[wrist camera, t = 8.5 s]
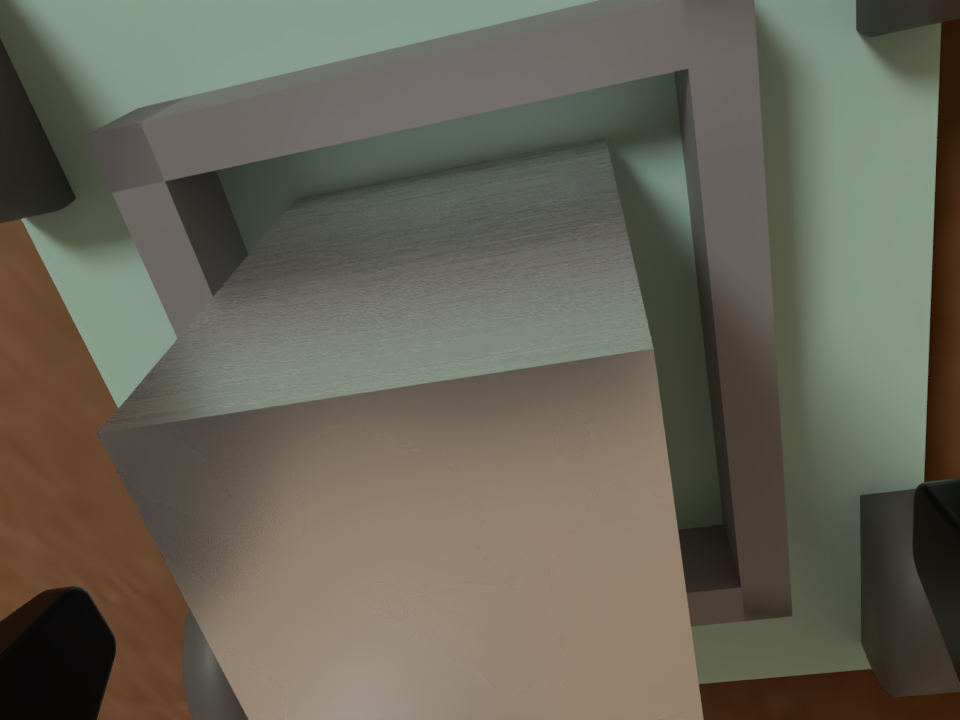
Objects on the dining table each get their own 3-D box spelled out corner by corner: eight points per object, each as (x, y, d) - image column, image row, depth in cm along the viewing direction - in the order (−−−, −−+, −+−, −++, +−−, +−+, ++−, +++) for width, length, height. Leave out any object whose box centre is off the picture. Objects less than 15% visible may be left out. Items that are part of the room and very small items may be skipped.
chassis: (888, 605, 17) (965, 767, 14) (297, 664, 19) (247, 815, 16) (902, -398, 9) (1077, -543, 6) (-69, -108, 12) (-296, -110, 9)
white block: (656, 485, 14) (719, 836, 9) (402, 516, 15) (321, 858, 9) (605, 137, 11) (653, 348, 6) (296, 198, 12) (96, 433, 7)
